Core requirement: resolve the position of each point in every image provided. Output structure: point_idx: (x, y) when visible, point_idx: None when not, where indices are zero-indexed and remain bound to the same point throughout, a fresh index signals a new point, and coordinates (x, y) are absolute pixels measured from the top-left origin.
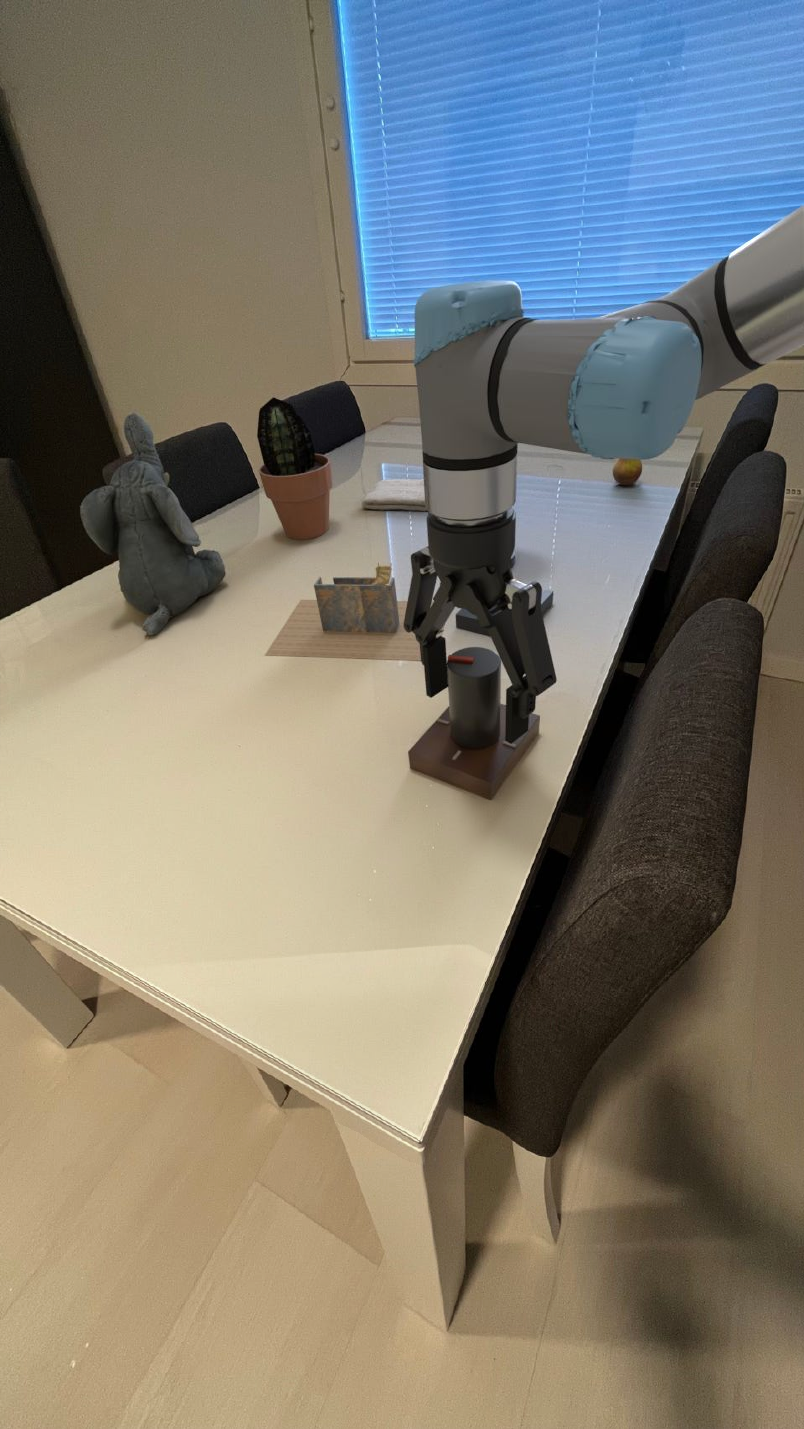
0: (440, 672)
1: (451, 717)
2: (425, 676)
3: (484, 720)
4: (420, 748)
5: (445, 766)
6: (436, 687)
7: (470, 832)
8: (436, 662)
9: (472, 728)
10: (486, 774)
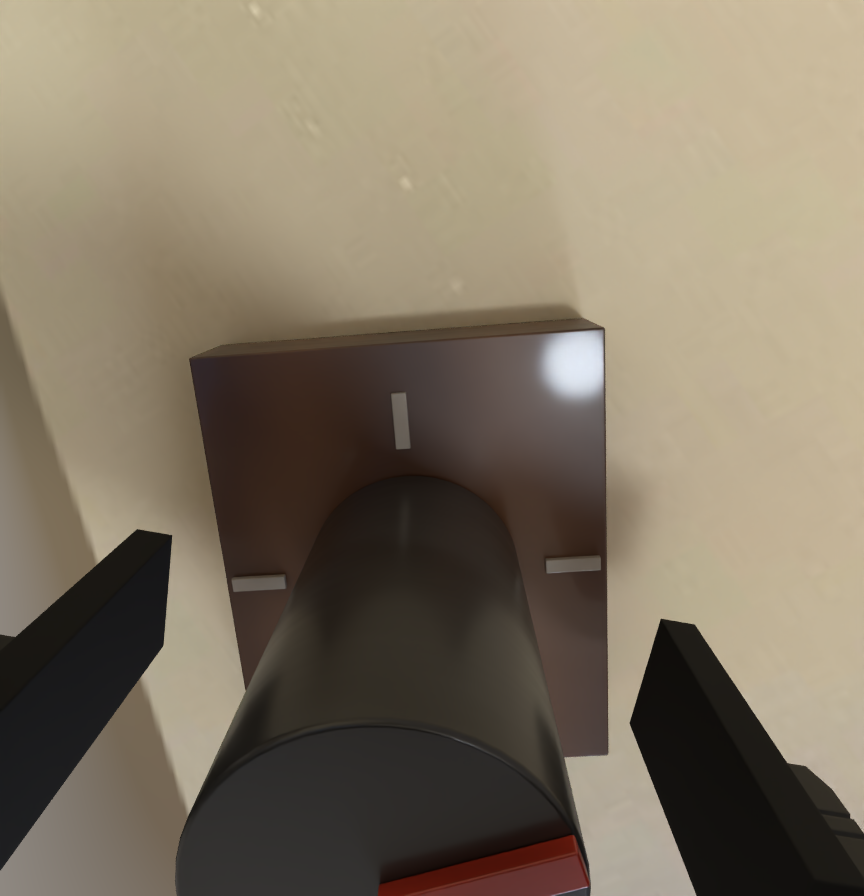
0: (678, 766)
1: (477, 541)
2: (739, 699)
3: (297, 585)
4: (565, 375)
5: (406, 341)
6: (662, 680)
7: (188, 164)
8: (718, 811)
9: (349, 531)
10: (235, 392)
